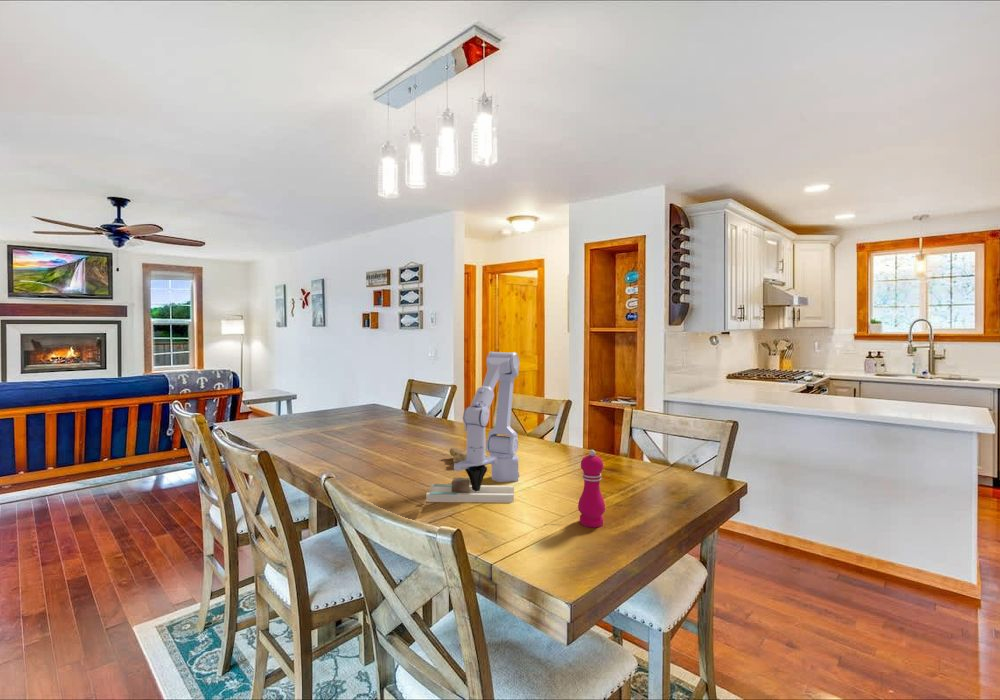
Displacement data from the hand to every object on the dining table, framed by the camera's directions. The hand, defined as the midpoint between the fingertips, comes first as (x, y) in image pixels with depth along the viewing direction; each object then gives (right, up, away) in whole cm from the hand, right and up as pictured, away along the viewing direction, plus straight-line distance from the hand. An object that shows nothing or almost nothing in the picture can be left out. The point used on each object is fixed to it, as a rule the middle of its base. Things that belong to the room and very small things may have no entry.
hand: (476, 490), depth 154 cm
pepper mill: (+32, -4, -18) cm, 37 cm away
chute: (-1, -3, 0) cm, 3 cm away
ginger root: (-4, -1, +41) cm, 41 cm away
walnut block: (-5, -2, 0) cm, 5 cm away
